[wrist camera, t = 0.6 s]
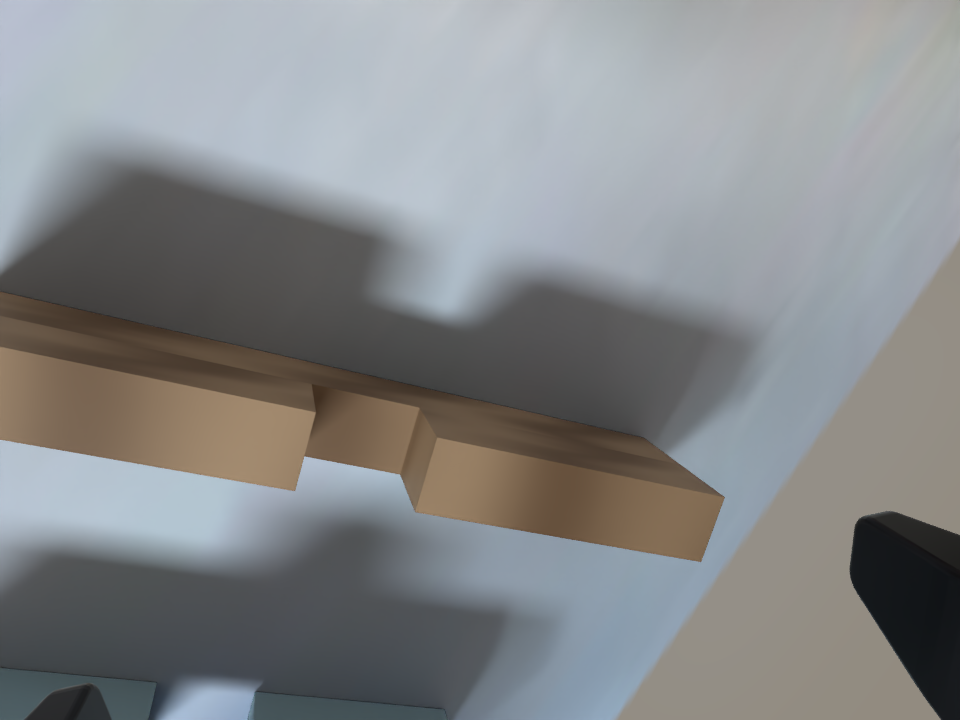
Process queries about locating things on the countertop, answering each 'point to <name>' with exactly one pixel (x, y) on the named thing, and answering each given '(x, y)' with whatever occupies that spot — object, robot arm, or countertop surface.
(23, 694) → the slate-blue slotted plate
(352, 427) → the walnut slotted board
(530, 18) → the countertop surface
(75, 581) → the countertop surface
